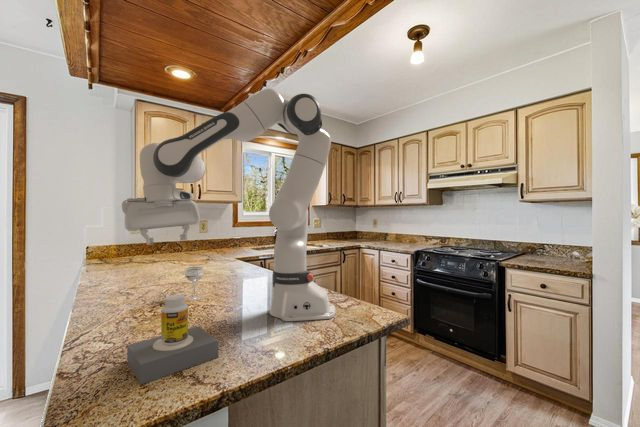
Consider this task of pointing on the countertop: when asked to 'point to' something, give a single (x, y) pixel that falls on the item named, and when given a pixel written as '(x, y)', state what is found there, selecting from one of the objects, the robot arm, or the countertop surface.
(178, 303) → the supplement bottle
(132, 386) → the countertop surface
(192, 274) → the wineglass
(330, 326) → the countertop surface
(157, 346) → the block
